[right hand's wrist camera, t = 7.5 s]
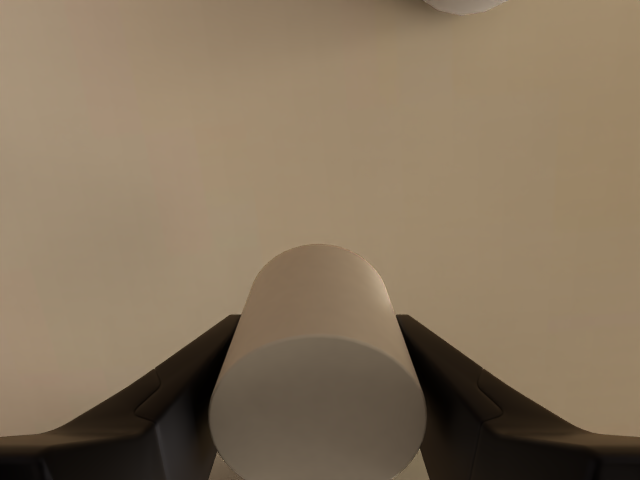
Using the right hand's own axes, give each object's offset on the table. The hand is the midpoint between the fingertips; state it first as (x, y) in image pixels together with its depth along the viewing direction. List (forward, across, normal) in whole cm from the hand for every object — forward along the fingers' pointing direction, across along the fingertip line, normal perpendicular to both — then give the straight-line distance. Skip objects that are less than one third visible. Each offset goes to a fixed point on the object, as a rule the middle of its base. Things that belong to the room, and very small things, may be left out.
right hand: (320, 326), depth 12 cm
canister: (+1, 0, 0) cm, 1 cm away
